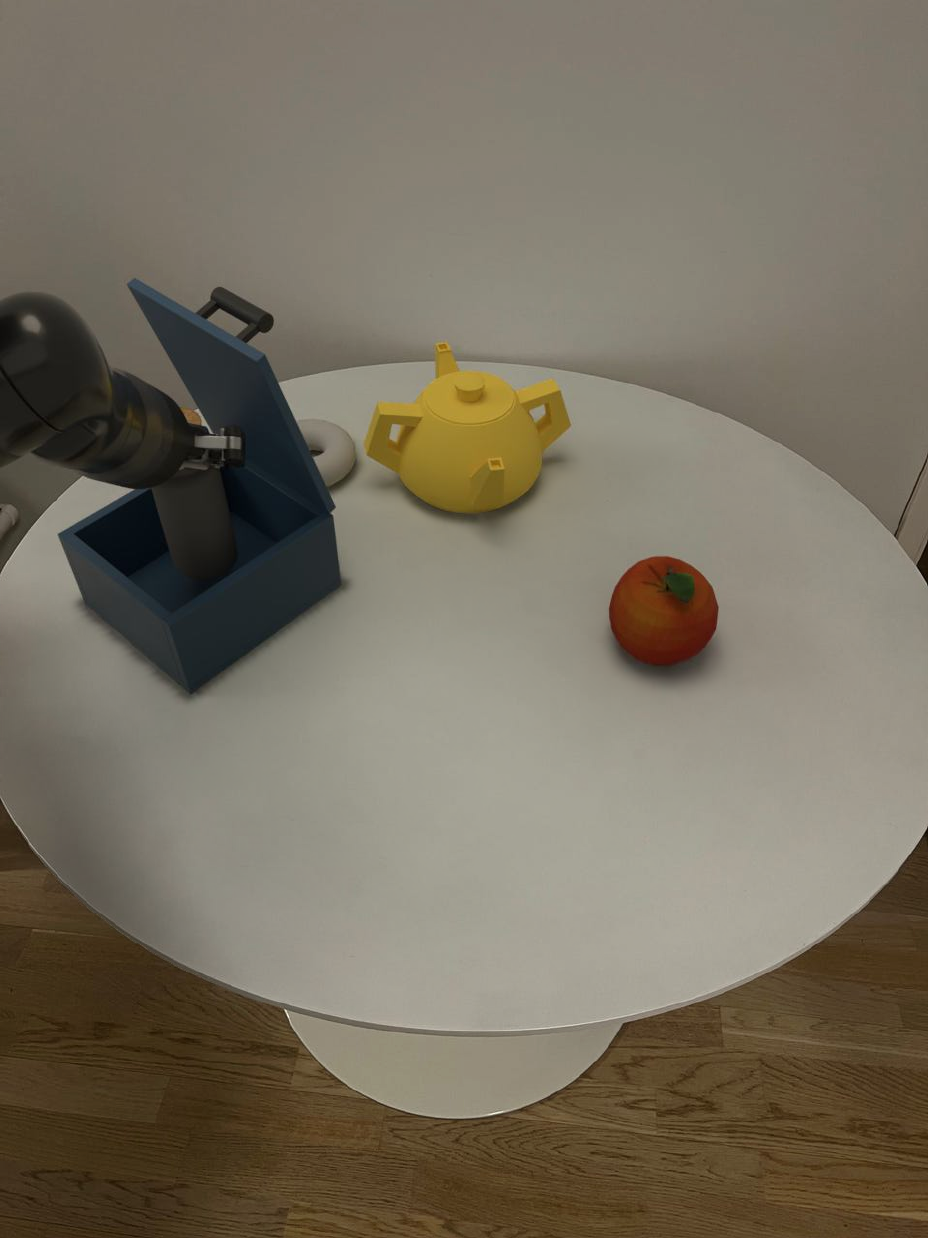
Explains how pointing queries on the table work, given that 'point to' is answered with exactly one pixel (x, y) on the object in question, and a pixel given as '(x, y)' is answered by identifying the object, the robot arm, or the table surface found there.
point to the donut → (329, 448)
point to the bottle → (197, 519)
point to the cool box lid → (235, 383)
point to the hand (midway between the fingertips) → (187, 457)
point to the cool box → (209, 608)
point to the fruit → (663, 611)
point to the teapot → (468, 437)
